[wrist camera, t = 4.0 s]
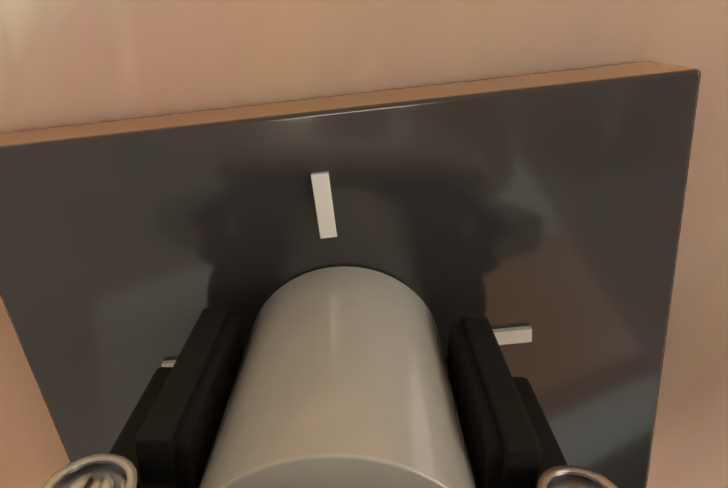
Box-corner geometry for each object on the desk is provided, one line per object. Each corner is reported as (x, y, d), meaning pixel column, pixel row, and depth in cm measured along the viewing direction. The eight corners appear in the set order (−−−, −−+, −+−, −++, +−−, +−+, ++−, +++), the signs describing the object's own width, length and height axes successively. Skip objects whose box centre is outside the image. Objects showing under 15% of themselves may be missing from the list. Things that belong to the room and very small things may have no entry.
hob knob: (414, 243, 12) (462, 439, 6) (457, 402, 13) (523, 665, 8) (221, 293, 12) (111, 518, 7) (287, 442, 14) (240, 716, 8)
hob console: (651, 60, 12) (709, 69, 10) (615, 440, 16) (650, 499, 14) (-2, 133, 13) (-69, 155, 11) (129, 483, 17) (99, 545, 15)
